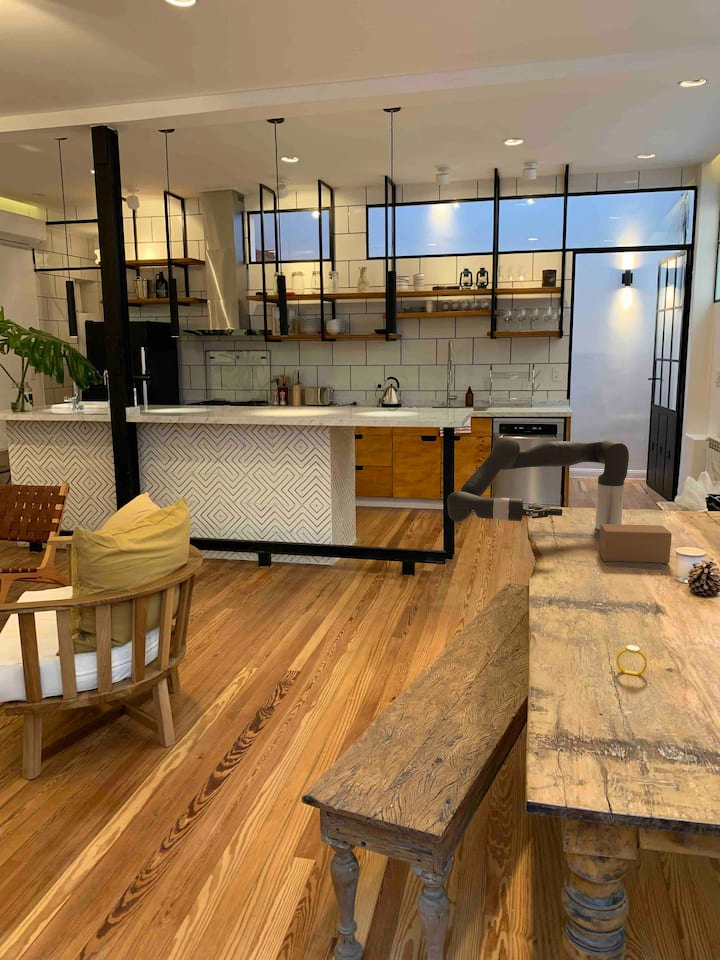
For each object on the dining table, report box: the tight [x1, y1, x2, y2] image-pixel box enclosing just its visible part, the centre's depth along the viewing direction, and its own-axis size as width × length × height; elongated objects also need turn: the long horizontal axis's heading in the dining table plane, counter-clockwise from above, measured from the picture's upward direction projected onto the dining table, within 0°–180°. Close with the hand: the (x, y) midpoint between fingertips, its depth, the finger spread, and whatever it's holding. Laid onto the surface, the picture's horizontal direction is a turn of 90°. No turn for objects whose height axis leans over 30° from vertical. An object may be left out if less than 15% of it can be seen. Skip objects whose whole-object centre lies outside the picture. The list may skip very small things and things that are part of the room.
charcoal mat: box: [605, 561, 666, 571], centre depth 232 cm, size 15×17×1 cm
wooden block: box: [598, 523, 672, 564], centre depth 233 cm, size 10×10×20 cm
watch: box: [616, 644, 648, 677], centre depth 153 cm, size 6×3×6 cm, turn 68°
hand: (562, 512), depth 234 cm, fingers closed
